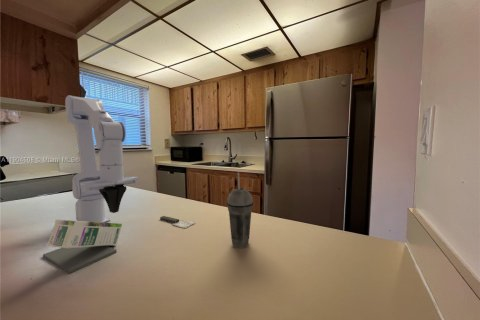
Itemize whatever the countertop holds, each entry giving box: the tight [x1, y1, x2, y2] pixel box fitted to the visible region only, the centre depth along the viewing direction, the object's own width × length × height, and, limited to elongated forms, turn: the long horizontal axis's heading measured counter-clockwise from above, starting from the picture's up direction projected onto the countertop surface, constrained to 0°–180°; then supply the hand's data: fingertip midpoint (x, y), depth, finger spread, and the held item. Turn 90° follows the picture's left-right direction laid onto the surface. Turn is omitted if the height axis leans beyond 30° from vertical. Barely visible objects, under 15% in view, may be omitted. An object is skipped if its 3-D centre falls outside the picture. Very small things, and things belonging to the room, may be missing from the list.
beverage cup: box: [226, 172, 254, 249], centre depth 56 cm, size 7×7×20 cm
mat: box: [42, 245, 117, 274], centre depth 52 cm, size 14×10×1 cm
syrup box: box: [46, 219, 123, 249], centre depth 51 cm, size 6×6×14 cm
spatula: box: [159, 215, 196, 229], centre depth 73 cm, size 14×5×1 cm, turn 61°
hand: (114, 211), depth 59 cm, fingers closed
